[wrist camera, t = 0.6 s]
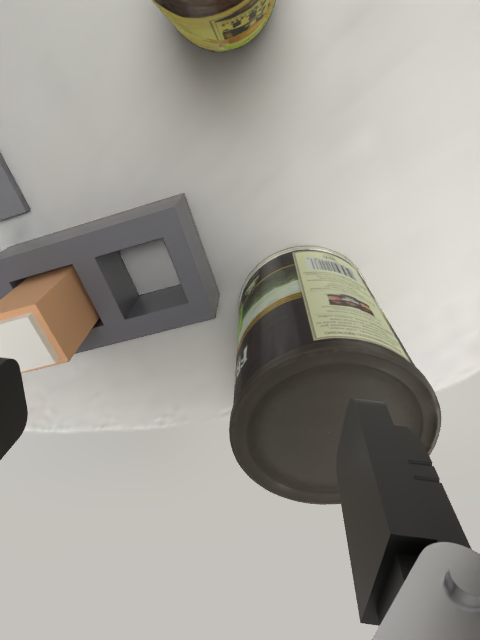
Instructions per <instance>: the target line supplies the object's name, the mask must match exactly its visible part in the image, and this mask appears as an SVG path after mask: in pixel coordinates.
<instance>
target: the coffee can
mask: <svg viewBox="0 0 480 640" xmlns="http://www.w3.org/2000/svg"><path fill="white" fill-rule="evenodd" d="M351 398H354V399H363V400H372V401H381V402H384V403H385V404H386V406H387V408H388V411H389V413H390V416H391V419H392V421H393V424H394V425H396V426H405V427H408V428H409V429H410V430H411V431H412V432H413V433H414V434H415V435H416V437H417V438H418V439H419V440H420V441H421V442H422V443H423V444H424V446H425V448H426V450H427V452H428V455H430V454H431V452H432V450H433V448H434V447H435V444H436V442H437V439H438V436H439V432H440V427H441V411H440V406H439V402H438V400H437V397H436V395H435V392H434V390H433V389H432V387H431V385H430V384H429V382H428V381H427V379H426V378H425V376H424V375H423V374H422V373H421V372H420V371H419V370H418V369H417V368H416V367H415V365H414V363H413V362H412V360H411V358H410V357H409V355H408V353H407V352H406V350H405V348H404V347H403V345H402V343H401V342H400V340H399V338H398V337H397V335H396V333H395V332H394V330H393V328H392V326H391V325H390V323H389V321H388V320H387V318H386V316H385V315H384V313H383V312H382V310H381V308H380V307H379V305H378V303H377V302H376V300H375V298H374V297H373V295H372V293H371V292H370V290H369V288H368V287H367V285H366V282H365V280H364V277H363V276H362V274H361V273H360V271H359V270H358V268H357V267H356V266H355V265H354V264H353V263H352V262H351V261H350V260H348V259H347V258H346V257H345V256H342V255H341V254H339V253H337V252H334V251H332V250H329V249H325V248H321V247H314V246H301V247H293V248H289V249H286V250H283V251H280V252H278V253H276V254H273V255H272V256H270V257H268V258H267V259H265V260H264V261H263V262H261V263H260V264H259V265H258V266H257V267H256V268H255V269H254V270H253V271H252V272H251V273H250V275H249V276H248V278H247V279H246V281H245V283H244V285H243V287H242V290H241V294H240V298H239V325H238V344H237V359H236V372H235V390H234V405H233V408H232V412H231V418H230V427H229V432H230V442H231V447H232V450H233V453H234V455H235V458H236V460H237V462H238V463H239V465H240V466H241V468H242V469H243V470H244V471H245V473H246V474H247V475H248V476H249V477H250V478H251V479H252V480H254V481H255V482H256V483H257V484H259V485H260V486H262V487H263V488H265V489H266V490H268V491H270V492H272V493H274V494H277V495H279V496H282V497H284V498H288V499H291V500H295V501H298V502H303V503H310V504H341V499H340V493H339V487H338V481H337V473H336V459H337V450H338V445H339V441H340V437H341V432H342V428H343V423H344V419H345V415H346V410H347V406H348V403H349V401H350V399H351Z"/></svg>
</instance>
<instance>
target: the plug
mask: <svg viewBox="0 0 480 640" xmlns="http://www.w3.org/2000/svg"><path fill="white" fill-rule="evenodd" d="M99 318H100V316H99V314H98V313H97V311H96V309H95V307H94V305H93V303H92V301H91V299H90V297H89V295H88V293H87V291H86V289H85V287H84V285H83V283H82V282H81V280H80V278H79V276H78V274H77V272H76V270H75V268H74V266H73V264H70V265H67V266H63V267H60V268H56V269H53V270H50V271H46V272H43V273H39V274H36V275H33V276H29V277H28V278H27V279H25V280H24V281H23V282H22V283H20V284H19V285H18V286H17V287H15V288H14V289H13V290H12V291H11V292H9V293H8V294H7V295H6V296H4V297H3V298H2V299H1V300H0V357H1V358H10V359H14V360H16V361H17V362H18V364H19V366H20V371H21V373H25V372H29V371H33V370H37V369H41V368H45V367H49V366H53V365H57V364H61V363H65V362H69V361H70V359H71V358H72V356H73V355H74V353H75V352H76V351H77V349H78V348H79V346H80V345H81V343H82V342H83V341H84V339H85V338H86V336H87V335H88V333H89V332H90V330H91V329H92V328H93V326H94V325H95V323H96V322H97V320H98V319H99Z"/></svg>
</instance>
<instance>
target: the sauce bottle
mask: <svg viewBox="0 0 480 640" xmlns="http://www.w3.org/2000/svg"><path fill="white" fill-rule="evenodd" d="M152 1H153V2H154V3H155V4H156V5H157V7H158V8H159V9H160V10H161V11H162V13H163V14H164V15H165V16H166V17H167V18H168V19H169V21H170V22H171V23H172V24H173V25H174V26H175V27H176V28H177V29H178V31H179V32H180V33H181V34H182V35H183V36H184V37H186V38H187V39H188V40H189V41H191V42H192V43H194V44H196V45H197V46H200V47H202V48H204V49H207V50H210V51H213V52H224V51H228V50H233V49H237V48H240V47H242V46H244V45H245V44H247V43H248V42H249V41H251V40H252V39H253V38H254V37H255V36H256V35H257V34H258V33H259V32H260V31H261V30H262V28H263V27H264V26H265V24H266V22H267V21H268V19H269V17H270V15H271V12H272V10H273V7H274V4H275V0H152Z"/></svg>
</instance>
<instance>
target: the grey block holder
mask: <svg viewBox="0 0 480 640" xmlns="http://www.w3.org/2000/svg"><path fill="white" fill-rule="evenodd" d="M159 238H163V239H164V242H165V244H166V247H167V249H168V252H169V254H170V257H171V259H172V262H173V264H174V267H175V270H176V272H177V275H178V277H179V280H180V282H181V284H180V285H177V286H173V287H169V288H165V289H162V290H158V291H154V292H151V293H147V294H143V295H140V296H139V295H138V293H137V291H136V289H135V287H134V284H133V282H132V280H131V278H130V276H129V273H128V271H127V269H126V267H125V265H124V262H123V260H122V258H121V256H120V254H119V251H118V250H122V249H125V248H128V247H132V246H135V245H139V244H142V243H145V242H149V241H152V240H156V239H159ZM70 264H73V266H74V268H75V270H76V272H77V274H78V276H79V278H80V280H81V282H82V283H83V285H84V287H85V289H86V291H87V293H88V295H89V297H90V299H91V301H92V303H93V305H94V307H95V309H96V311H97V313H98V314H99V316H100V318H99V319H98V320H97V322H96V323H95V325H94V326H93V328H92V329H91V330H90V332H89V333H88V335H87V336H86V338H85V339H84V341H83V342H82V343H81V345H80V346H79V348H78V349H77V351H76V352H75V353H79V352H83V351H87V350H91V349H95V348H99V347H103V346H107V345H111V344H115V343H119V342H123V341H127V340H131V339H135V338H139V337H143V336H147V335H151V334H155V333H159V332H163V331H167V330H170V329H174V328H178V327H182V326H186V325H190V324H194V323H198V322H202V321H206V320H210V319H214V318H216V313H217V307H218V301H219V295H220V293H219V290H218V288H217V285H216V282H215V279H214V276H213V273H212V271H211V268H210V265H209V262H208V259H207V256H206V254H205V251H204V248H203V245H202V242H201V239H200V237H199V234H198V231H197V228H196V225H195V222H194V220H193V217H192V214H191V211H190V208H189V205H188V203H187V200H186V197H185V194H184V193H183V194H179V195H176V196H173V197H170V198H166V199H163V200H160V201H157V202H153V203H150V204H147V205H144V206H140V207H137V208H134V209H131V210H127V211H124V212H121V213H118V214H114V215H111V216H108V217H105V218H101V219H98V220H95V221H92V222H88V223H85V224H82V225H79V226H75V227H72V228H69V229H66V230H62V231H59V232H56V233H53V234H49V235H46V236H43V237H40V238H36V239H33V240H30V241H27V242H24V243H20V244H17V245H14V246H11V247H8V248H7V249H5V250H3V251H2V252H0V300H1V299H2V298H3V297H4V296H6V295H7V294H8V293H9V292H11V291H12V290H13V289H14V288H15V287H17V286H18V285H19V284H20V283H22V282H23V281H24V280H25V279H27V278H28V277H29V276H33V275H36V274H39V273H43V272H46V271H50V270H53V269H56V268H60V267H63V266H67V265H70ZM75 353H74V354H75Z"/></svg>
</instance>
